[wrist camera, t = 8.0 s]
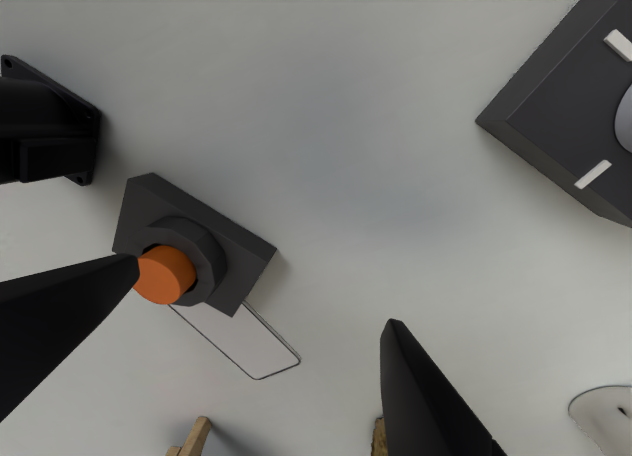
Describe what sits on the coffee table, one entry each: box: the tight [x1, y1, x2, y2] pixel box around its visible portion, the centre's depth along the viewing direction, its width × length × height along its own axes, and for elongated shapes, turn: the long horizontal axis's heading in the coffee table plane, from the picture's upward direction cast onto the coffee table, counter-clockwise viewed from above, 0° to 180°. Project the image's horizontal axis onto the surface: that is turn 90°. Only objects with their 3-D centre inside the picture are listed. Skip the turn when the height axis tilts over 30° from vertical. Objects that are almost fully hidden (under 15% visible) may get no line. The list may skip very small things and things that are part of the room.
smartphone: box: [167, 300, 301, 380], centre depth 24 cm, size 7×1×15 cm
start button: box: [133, 245, 196, 304], centre depth 16 cm, size 4×4×2 cm
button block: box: [112, 173, 277, 318], centre depth 18 cm, size 11×7×4 cm, turn 58°
